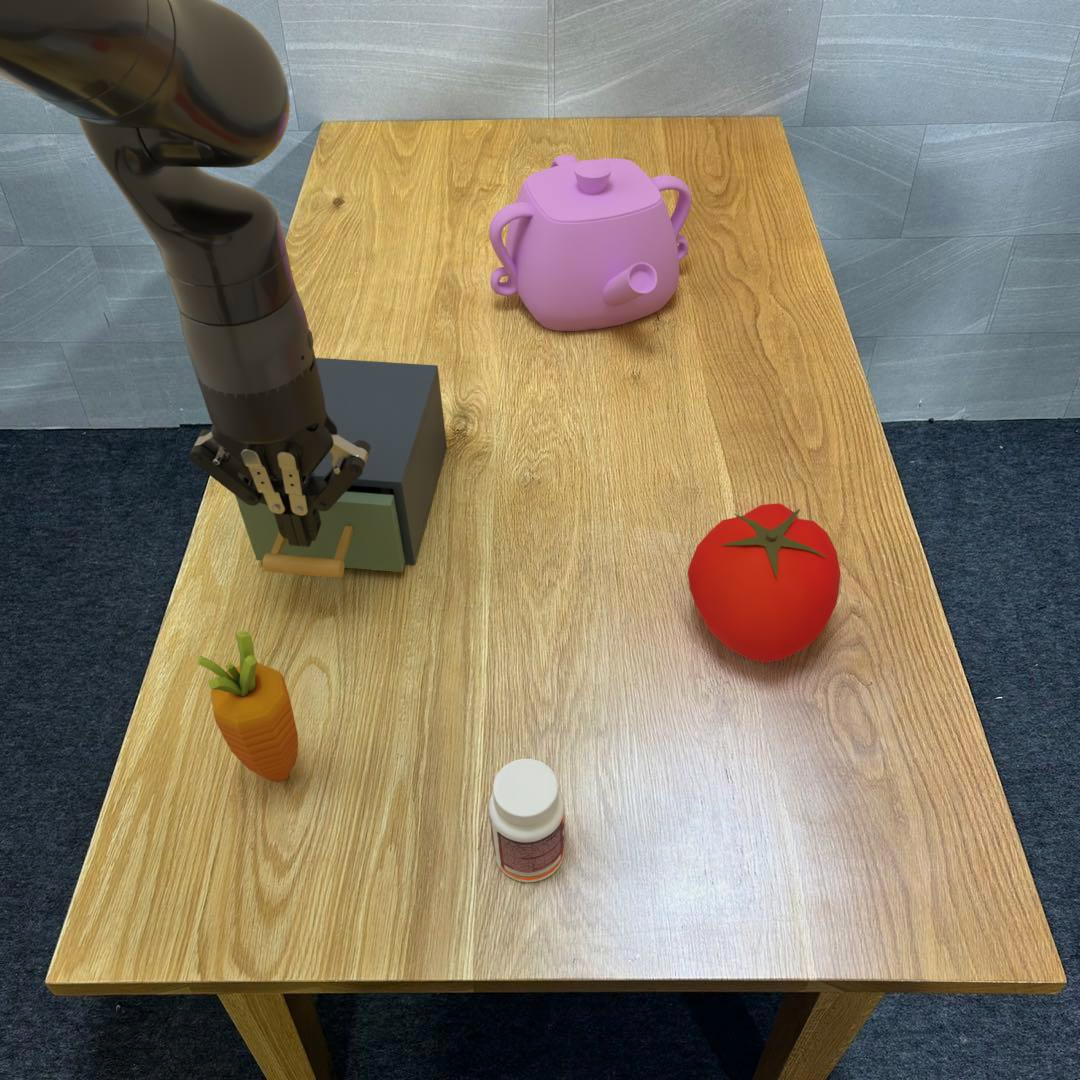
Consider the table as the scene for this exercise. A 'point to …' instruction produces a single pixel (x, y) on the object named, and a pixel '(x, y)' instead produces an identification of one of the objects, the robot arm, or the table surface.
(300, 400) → the robot arm
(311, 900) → the table surface
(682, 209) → the teapot
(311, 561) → the drawer
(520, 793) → the pill bottle
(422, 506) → the cabinet
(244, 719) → the carrot
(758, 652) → the tomato
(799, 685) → the table surface
